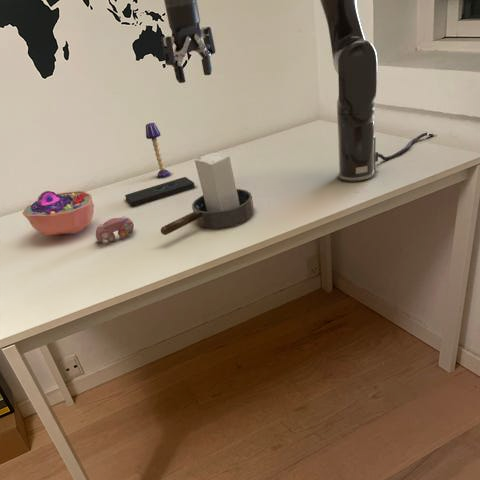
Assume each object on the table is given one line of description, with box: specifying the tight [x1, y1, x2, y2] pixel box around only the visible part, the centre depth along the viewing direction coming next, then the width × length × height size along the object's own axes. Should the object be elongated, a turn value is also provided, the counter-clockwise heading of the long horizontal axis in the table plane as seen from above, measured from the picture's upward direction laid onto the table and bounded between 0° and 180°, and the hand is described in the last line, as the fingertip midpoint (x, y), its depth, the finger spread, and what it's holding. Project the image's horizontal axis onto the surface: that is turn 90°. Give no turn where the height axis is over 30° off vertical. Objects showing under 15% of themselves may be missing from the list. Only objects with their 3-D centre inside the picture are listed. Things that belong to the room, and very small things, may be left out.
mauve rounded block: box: [95, 215, 135, 243], centre depth 120 cm, size 10×5×7 cm, turn 117°
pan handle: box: [160, 211, 202, 236], centre depth 114 cm, size 12×2×2 cm, turn 133°
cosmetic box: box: [194, 152, 240, 212], centre depth 119 cm, size 8×6×15 cm
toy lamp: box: [145, 122, 171, 179], centre depth 155 cm, size 5×5×17 cm
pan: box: [191, 188, 255, 230], centre depth 122 cm, size 15×15×4 cm
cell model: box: [21, 190, 95, 236], centre depth 128 cm, size 17×20×11 cm
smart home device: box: [124, 176, 195, 208], centre depth 145 cm, size 8×2×20 cm
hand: (195, 78), depth 122 cm, fingers open, 8 cm apart
